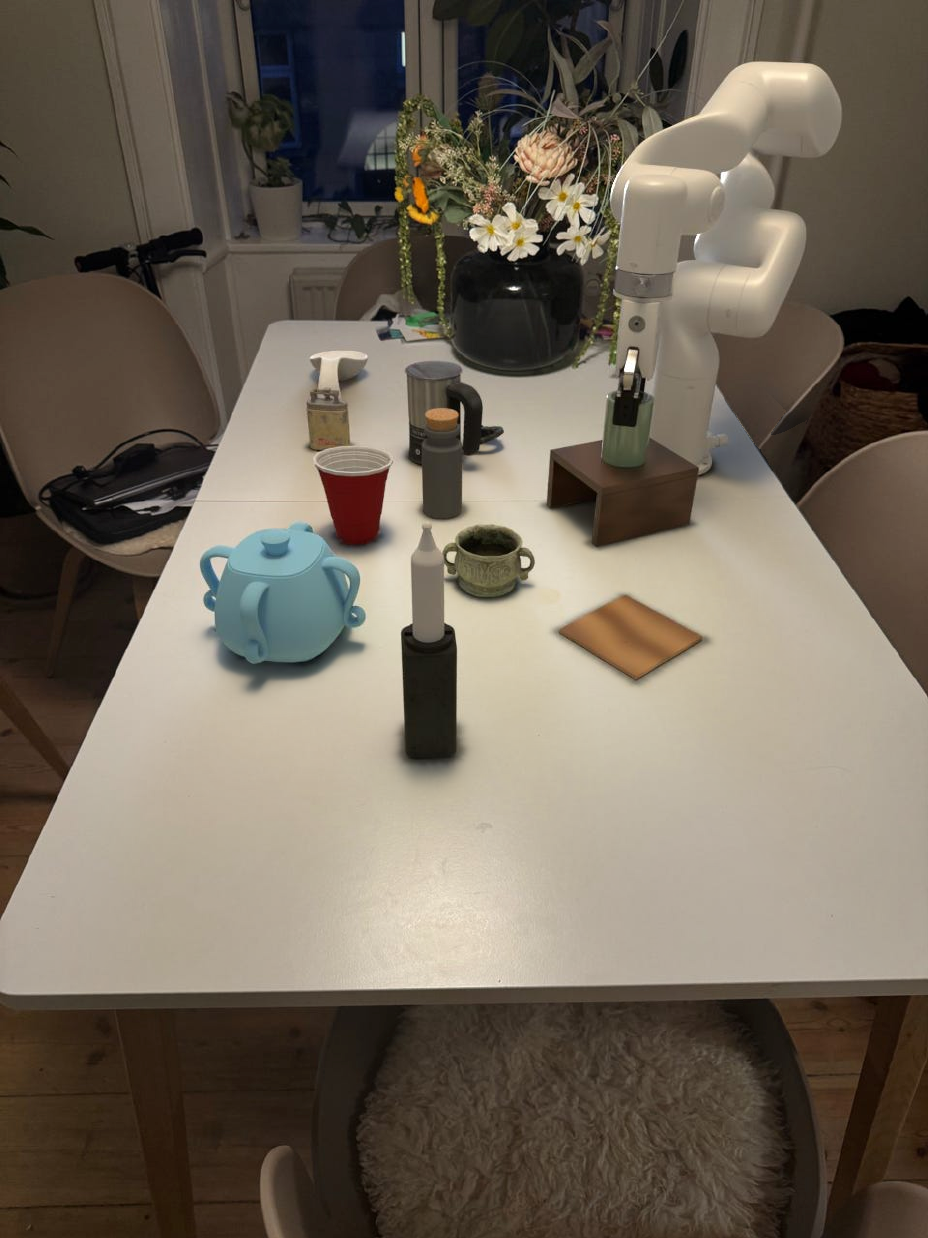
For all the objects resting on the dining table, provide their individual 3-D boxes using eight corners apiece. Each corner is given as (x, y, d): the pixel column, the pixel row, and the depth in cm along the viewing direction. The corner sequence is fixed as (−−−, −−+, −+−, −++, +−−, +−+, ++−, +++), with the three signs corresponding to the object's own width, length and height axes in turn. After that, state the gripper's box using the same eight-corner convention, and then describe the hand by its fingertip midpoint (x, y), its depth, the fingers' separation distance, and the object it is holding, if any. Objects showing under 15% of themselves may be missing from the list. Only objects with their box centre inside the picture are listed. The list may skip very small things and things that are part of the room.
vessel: (437, 596, 111) (436, 553, 108) (446, 561, 119) (446, 520, 115) (531, 603, 110) (534, 560, 107) (534, 567, 118) (537, 526, 114)
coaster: (624, 597, 112) (625, 594, 111) (702, 640, 104) (702, 636, 104) (558, 632, 105) (558, 628, 105) (635, 680, 98) (636, 676, 97)
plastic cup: (408, 523, 127) (405, 446, 121) (378, 559, 119) (373, 477, 112) (340, 511, 130) (334, 435, 124) (306, 545, 122) (297, 465, 115)
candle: (404, 725, 91) (396, 509, 77) (453, 723, 91) (454, 507, 77) (405, 760, 87) (397, 538, 73) (457, 757, 87) (458, 536, 73)
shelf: (634, 486, 139) (641, 432, 134) (689, 524, 128) (699, 467, 123) (546, 505, 133) (550, 449, 128) (596, 546, 122) (602, 488, 117)
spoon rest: (314, 365, 185) (311, 331, 181) (370, 366, 185) (368, 331, 181) (300, 406, 166) (296, 369, 161) (362, 406, 166) (360, 369, 162)
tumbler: (629, 446, 129) (636, 386, 124) (655, 462, 124) (663, 401, 119) (592, 453, 127) (598, 392, 122) (617, 470, 122) (624, 408, 117)
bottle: (457, 520, 128) (457, 423, 120) (418, 516, 129) (416, 419, 121) (465, 503, 133) (466, 407, 125) (427, 499, 134) (426, 404, 126)
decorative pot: (377, 654, 101) (373, 551, 94) (240, 694, 95) (223, 587, 87) (327, 587, 113) (319, 491, 105) (202, 618, 107) (184, 518, 99)
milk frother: (397, 461, 145) (394, 373, 137) (435, 428, 157) (435, 345, 149) (477, 476, 141) (479, 386, 133) (510, 440, 153) (514, 356, 145)
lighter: (353, 444, 151) (349, 387, 145) (347, 453, 148) (343, 395, 142) (313, 441, 152) (307, 385, 146) (306, 450, 149) (301, 393, 143)
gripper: (669, 302, 104) (650, 438, 114) (677, 271, 118) (659, 395, 128) (606, 296, 106) (592, 432, 115) (621, 267, 120) (608, 390, 129)
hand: (627, 412), depth 121 cm, fingers open, 9 cm apart
